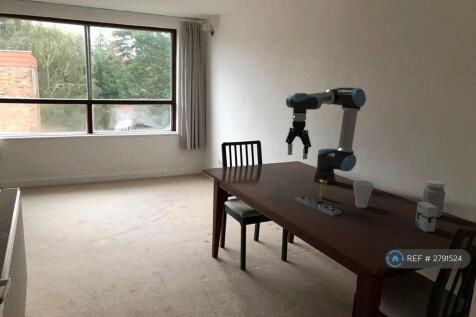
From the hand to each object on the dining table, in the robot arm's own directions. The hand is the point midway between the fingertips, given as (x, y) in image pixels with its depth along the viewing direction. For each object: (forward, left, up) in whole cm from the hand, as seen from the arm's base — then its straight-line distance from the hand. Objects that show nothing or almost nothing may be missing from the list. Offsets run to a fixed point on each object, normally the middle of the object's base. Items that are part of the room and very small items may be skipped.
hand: (297, 157), depth 208 cm
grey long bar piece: (+1, +20, -24) cm, 31 cm away
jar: (-44, +58, -24) cm, 76 cm away
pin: (-13, +10, -24) cm, 29 cm away
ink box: (-23, +67, -24) cm, 75 cm away
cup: (-22, +31, -24) cm, 45 cm away
